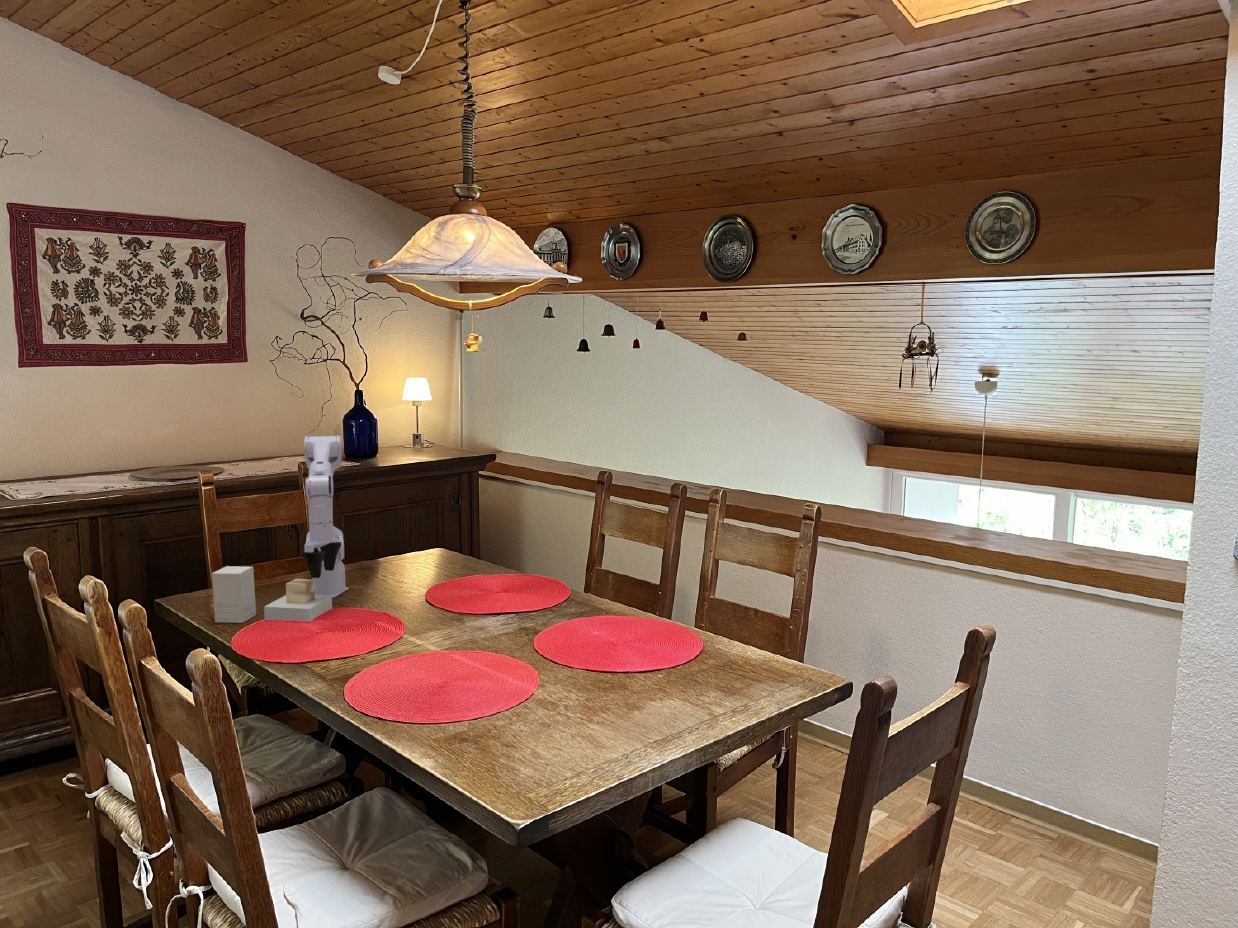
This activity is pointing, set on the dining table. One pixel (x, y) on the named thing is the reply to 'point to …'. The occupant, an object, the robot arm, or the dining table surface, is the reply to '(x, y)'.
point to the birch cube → (300, 591)
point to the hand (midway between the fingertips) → (322, 573)
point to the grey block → (297, 609)
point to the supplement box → (234, 594)
